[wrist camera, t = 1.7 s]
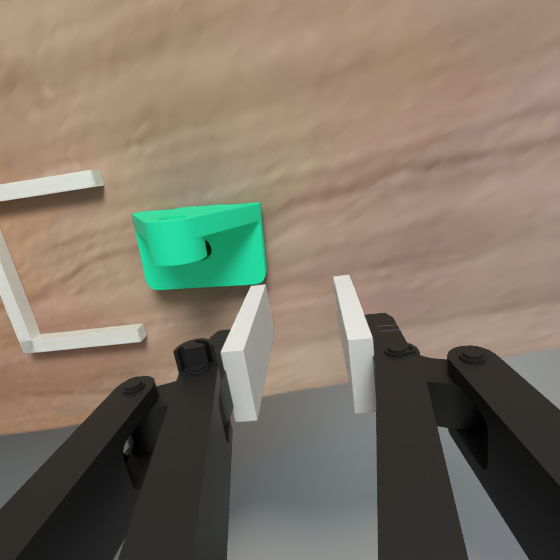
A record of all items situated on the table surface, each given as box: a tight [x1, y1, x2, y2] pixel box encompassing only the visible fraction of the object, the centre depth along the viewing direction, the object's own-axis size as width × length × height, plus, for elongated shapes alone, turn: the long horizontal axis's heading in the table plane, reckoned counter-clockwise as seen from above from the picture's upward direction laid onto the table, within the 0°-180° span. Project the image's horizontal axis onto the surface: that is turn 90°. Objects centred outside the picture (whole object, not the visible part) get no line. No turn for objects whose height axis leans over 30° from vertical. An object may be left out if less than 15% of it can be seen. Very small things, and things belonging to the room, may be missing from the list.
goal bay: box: [0, 170, 147, 354], centre depth 37 cm, size 14×18×2 cm
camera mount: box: [132, 202, 267, 290], centre depth 32 cm, size 12×8×10 cm, turn 95°
